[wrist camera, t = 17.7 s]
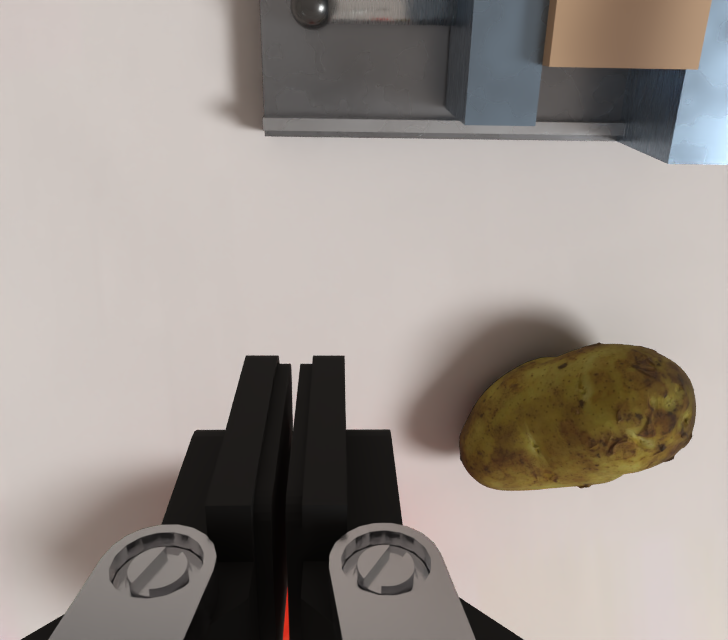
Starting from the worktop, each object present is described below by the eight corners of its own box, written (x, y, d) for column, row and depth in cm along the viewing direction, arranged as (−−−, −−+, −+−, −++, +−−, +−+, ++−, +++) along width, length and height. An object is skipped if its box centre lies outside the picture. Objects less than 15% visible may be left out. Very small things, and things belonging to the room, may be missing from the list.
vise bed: (267, 131, 36) (251, 158, 29) (258, -140, 31) (235, -184, 24) (661, 137, 37) (735, 164, 30) (711, -127, 32) (812, -165, 25)
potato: (434, 354, 42) (454, 425, 34) (646, 302, 41) (713, 364, 34) (460, 464, 45) (484, 551, 38) (657, 418, 44) (720, 498, 37)
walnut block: (509, 57, 34) (549, 66, 27) (517, -35, 32) (562, -48, 26) (630, 59, 34) (697, 69, 28) (644, -32, 32) (720, -44, 26)
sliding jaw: (293, 106, 34) (285, 122, 29) (289, -107, 30) (279, -133, 25) (505, 109, 34) (535, 126, 29) (525, -100, 31) (564, -124, 26)
